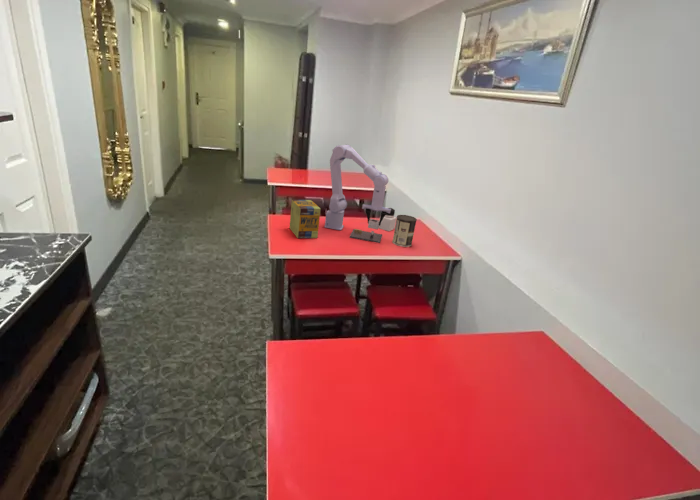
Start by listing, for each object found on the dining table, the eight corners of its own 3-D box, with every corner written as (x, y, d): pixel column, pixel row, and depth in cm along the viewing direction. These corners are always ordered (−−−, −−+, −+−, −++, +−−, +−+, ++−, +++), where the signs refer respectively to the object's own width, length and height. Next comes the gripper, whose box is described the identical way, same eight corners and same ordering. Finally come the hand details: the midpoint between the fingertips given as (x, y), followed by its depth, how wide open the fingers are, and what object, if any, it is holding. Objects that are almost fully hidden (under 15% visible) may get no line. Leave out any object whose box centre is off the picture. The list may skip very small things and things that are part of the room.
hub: (367, 227, 197) (368, 221, 196) (369, 224, 202) (370, 218, 201) (377, 229, 197) (378, 223, 195) (378, 226, 201) (380, 220, 200)
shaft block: (349, 237, 198) (350, 231, 196) (353, 230, 209) (354, 224, 207) (379, 243, 196) (381, 236, 194) (382, 235, 207) (383, 229, 205)
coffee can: (408, 240, 206) (413, 215, 200) (414, 247, 196) (419, 221, 191) (389, 239, 204) (394, 213, 198) (395, 246, 194) (400, 220, 189)
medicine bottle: (394, 229, 221) (398, 209, 216) (388, 231, 215) (392, 211, 211) (383, 225, 224) (387, 206, 220) (377, 228, 218) (381, 208, 214)
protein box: (297, 238, 186) (300, 208, 180) (289, 228, 199) (291, 199, 193) (317, 238, 191) (321, 208, 185) (308, 227, 203) (311, 199, 198)
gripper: (362, 197, 191) (359, 223, 196) (391, 202, 189) (387, 228, 194) (364, 194, 198) (361, 219, 203) (392, 199, 196) (388, 224, 201)
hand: (374, 223), depth 199 cm, fingers closed on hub, 5 cm apart
